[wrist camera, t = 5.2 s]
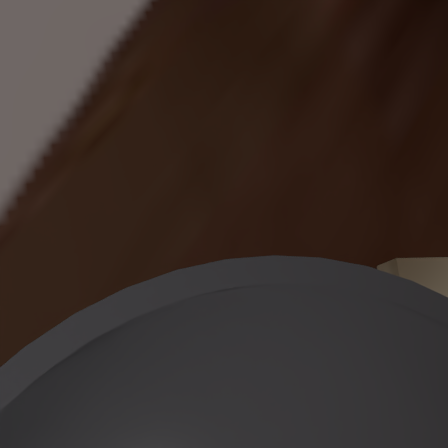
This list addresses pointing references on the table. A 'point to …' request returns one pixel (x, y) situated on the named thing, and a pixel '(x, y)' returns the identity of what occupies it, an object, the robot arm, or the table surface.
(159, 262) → the table surface
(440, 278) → the collar
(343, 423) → the tube
